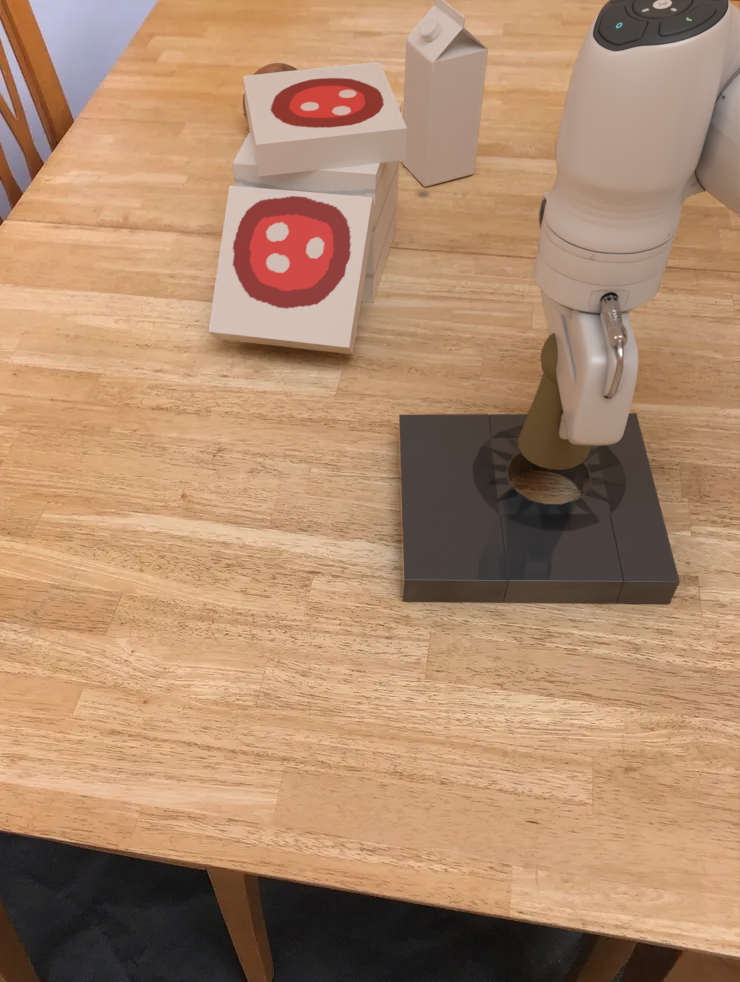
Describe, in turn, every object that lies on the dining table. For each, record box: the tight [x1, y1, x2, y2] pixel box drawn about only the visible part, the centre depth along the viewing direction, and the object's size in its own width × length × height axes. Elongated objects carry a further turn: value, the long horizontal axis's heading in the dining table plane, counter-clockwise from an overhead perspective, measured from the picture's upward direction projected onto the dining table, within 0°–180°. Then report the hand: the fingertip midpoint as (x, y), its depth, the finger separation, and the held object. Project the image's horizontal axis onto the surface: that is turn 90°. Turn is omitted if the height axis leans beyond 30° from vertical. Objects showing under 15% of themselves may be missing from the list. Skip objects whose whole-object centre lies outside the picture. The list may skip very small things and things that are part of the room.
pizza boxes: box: [207, 60, 407, 355], centre depth 98 cm, size 19×30×18 cm, turn 166°
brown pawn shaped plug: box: [518, 333, 590, 470], centre depth 74 cm, size 6×6×11 cm
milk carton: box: [400, 0, 489, 188], centre depth 112 cm, size 7×7×19 cm
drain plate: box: [397, 412, 681, 605], centre depth 82 cm, size 22×20×3 cm
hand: (563, 407), depth 76 cm, fingers closed on brown pawn shaped plug, 4 cm apart
